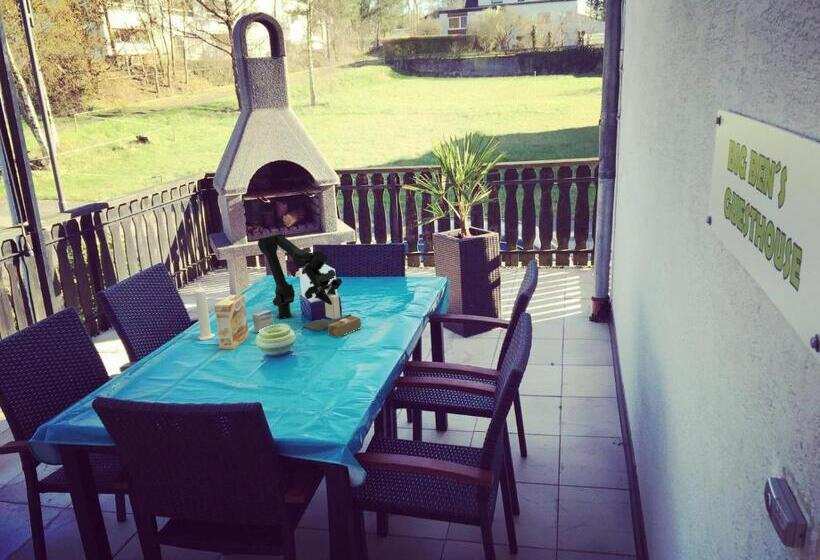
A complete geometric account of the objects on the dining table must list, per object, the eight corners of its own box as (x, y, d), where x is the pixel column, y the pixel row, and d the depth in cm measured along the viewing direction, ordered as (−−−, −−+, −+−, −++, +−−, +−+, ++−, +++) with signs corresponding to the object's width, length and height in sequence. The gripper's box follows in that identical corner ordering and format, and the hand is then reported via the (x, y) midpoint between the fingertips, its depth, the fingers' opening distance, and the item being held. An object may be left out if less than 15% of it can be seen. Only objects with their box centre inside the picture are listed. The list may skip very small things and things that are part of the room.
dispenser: (328, 335, 291) (327, 323, 290) (350, 326, 302) (350, 314, 300) (338, 338, 287) (337, 325, 286) (361, 328, 298) (360, 316, 296)
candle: (194, 339, 295) (186, 284, 288) (206, 333, 301) (198, 280, 294) (206, 341, 292) (199, 286, 285) (218, 335, 298) (210, 281, 291)
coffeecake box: (234, 349, 280) (229, 305, 275) (219, 349, 282) (213, 305, 276) (249, 337, 294) (244, 294, 289) (234, 336, 296) (229, 294, 290)
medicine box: (260, 334, 297) (258, 315, 295) (254, 332, 300) (252, 314, 297) (274, 328, 303) (272, 310, 301) (267, 327, 306) (265, 309, 303)
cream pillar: (325, 316, 298) (324, 295, 295) (331, 314, 300) (329, 293, 297) (335, 319, 294) (333, 297, 291) (340, 317, 296) (338, 295, 294)
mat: (301, 326, 304) (301, 325, 304) (320, 319, 312) (320, 318, 312) (319, 331, 296) (319, 330, 296) (338, 324, 305) (338, 322, 305)
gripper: (306, 269, 286) (326, 298, 283) (338, 260, 300) (357, 287, 296) (296, 284, 294) (315, 313, 290) (327, 275, 307) (346, 301, 303)
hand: (334, 303), depth 294 cm, fingers closed on cream pillar, 3 cm apart
